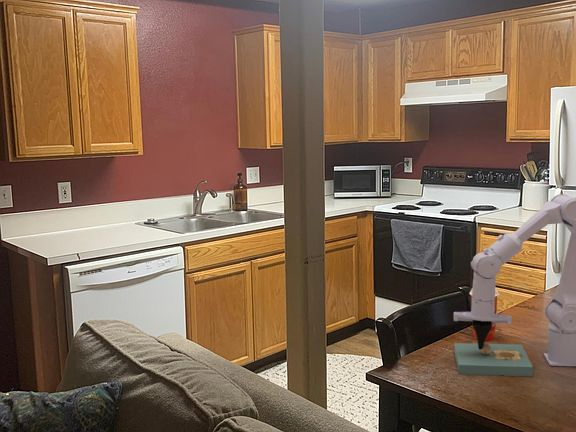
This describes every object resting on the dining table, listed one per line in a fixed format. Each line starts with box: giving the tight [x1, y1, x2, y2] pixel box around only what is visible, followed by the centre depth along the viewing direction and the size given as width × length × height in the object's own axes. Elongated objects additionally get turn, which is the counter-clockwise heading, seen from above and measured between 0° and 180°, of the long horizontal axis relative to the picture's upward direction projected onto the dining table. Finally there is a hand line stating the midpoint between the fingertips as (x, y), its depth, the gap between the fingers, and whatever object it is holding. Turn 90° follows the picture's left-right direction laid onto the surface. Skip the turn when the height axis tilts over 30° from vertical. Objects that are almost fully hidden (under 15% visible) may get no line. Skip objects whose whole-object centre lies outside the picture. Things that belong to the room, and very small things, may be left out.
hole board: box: [453, 342, 534, 377], centre depth 164 cm, size 18×16×2 cm
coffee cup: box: [469, 287, 500, 342], centre depth 182 cm, size 8×8×15 cm
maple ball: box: [479, 342, 491, 355], centre depth 164 cm, size 3×3×3 cm
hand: (480, 348), depth 164 cm, fingers closed, pressing on maple ball
